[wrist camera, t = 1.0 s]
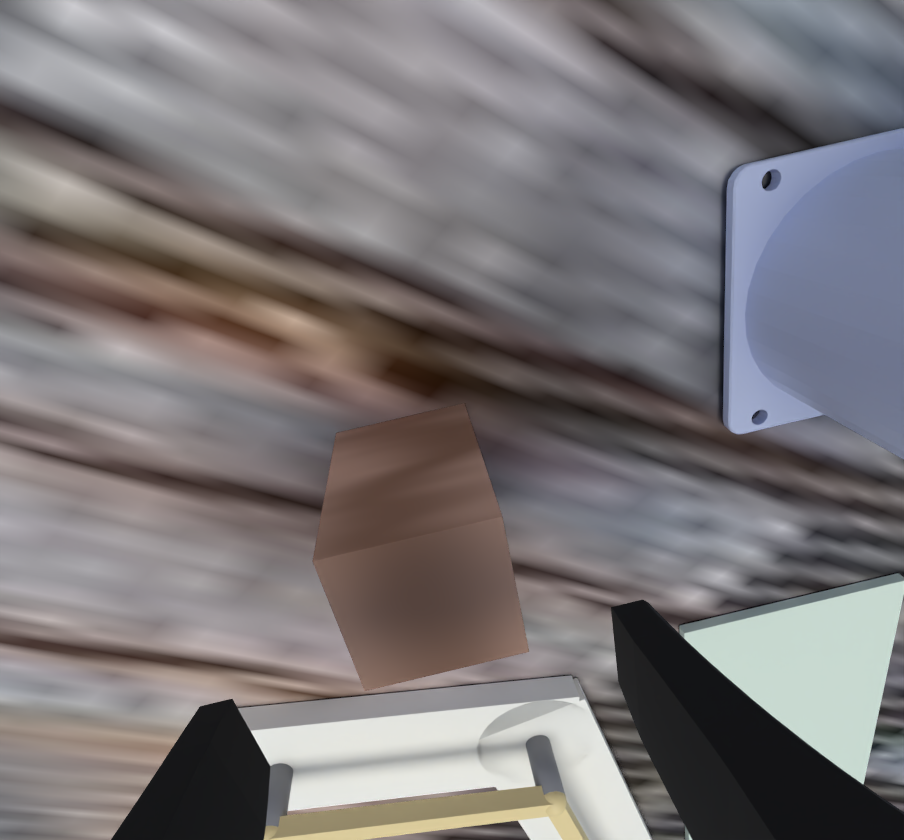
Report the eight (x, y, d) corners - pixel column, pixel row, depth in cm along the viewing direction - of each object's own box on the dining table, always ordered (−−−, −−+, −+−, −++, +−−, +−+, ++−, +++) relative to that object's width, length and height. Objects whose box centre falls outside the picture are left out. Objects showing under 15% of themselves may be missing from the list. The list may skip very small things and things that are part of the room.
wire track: (634, 613, 21) (681, 696, 18) (652, 847, 28) (687, 938, 25) (210, 714, 21) (176, 818, 18) (337, 924, 28) (330, 1026, 25)
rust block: (464, 402, 17) (502, 516, 11) (486, 508, 18) (528, 651, 13) (336, 432, 17) (312, 561, 11) (370, 536, 18) (364, 691, 13)
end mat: (898, 573, 22) (906, 579, 21) (845, 836, 30) (850, 844, 30) (679, 625, 22) (684, 633, 21) (686, 875, 30) (689, 883, 30)
